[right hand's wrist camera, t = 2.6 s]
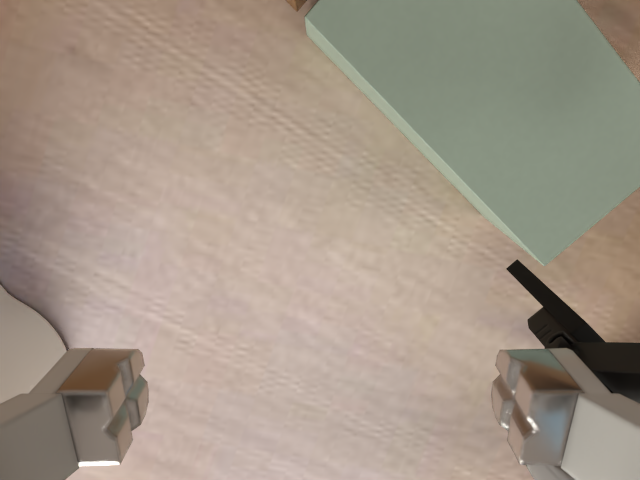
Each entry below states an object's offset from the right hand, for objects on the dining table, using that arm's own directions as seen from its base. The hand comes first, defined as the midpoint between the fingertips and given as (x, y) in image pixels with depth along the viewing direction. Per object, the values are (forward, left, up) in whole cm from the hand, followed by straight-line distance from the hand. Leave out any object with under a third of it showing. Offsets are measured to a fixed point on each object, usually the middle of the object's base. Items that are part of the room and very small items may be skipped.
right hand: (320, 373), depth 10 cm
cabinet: (+10, +7, -30) cm, 32 cm away
